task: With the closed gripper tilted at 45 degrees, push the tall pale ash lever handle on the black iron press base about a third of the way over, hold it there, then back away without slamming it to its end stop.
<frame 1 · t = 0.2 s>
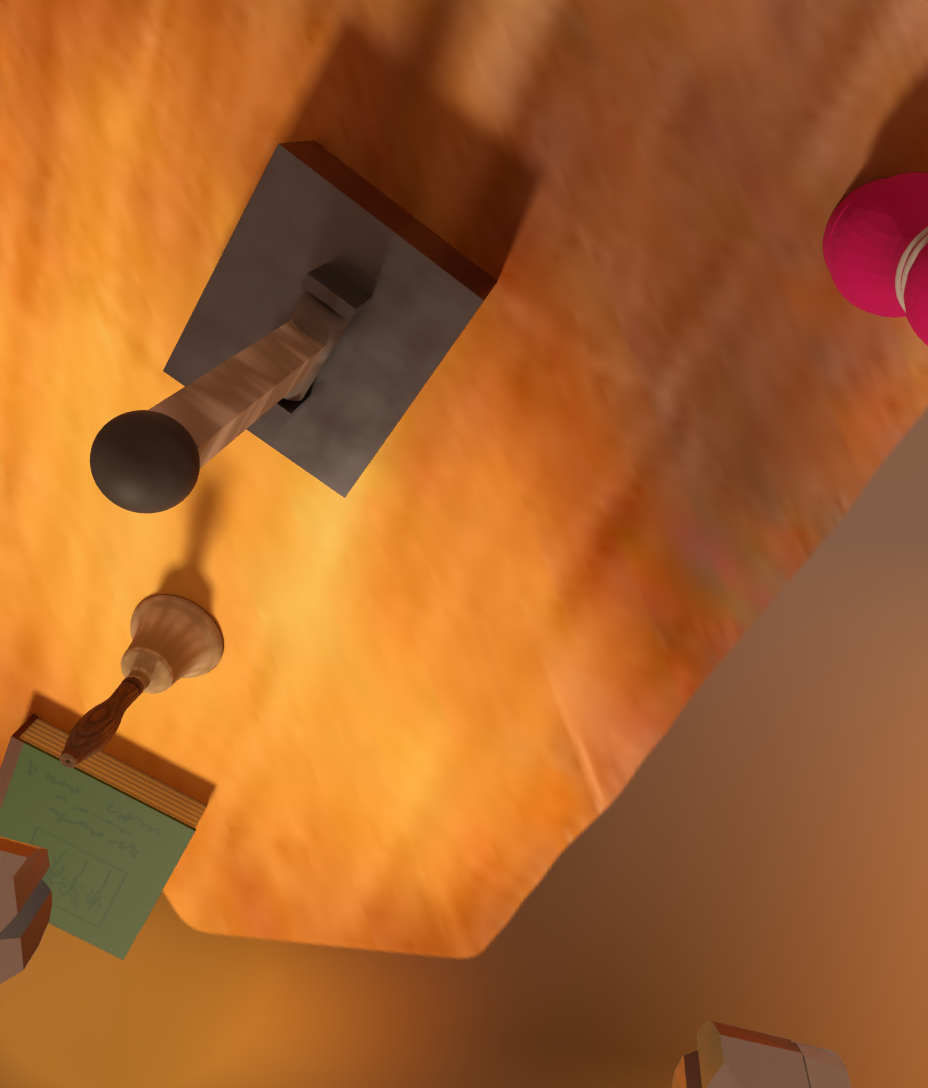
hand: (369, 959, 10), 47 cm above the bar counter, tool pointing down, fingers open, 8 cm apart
pepper mill: (878, 235, 48), on the bar counter
hardcover book: (93, 829, 85), on the bar counter
lever: (239, 393, 40), point 17 cm above the bar counter, hinge at 0.0°
hand bell: (178, 634, 70), on the bar counter
press base: (343, 316, 55), on the bar counter
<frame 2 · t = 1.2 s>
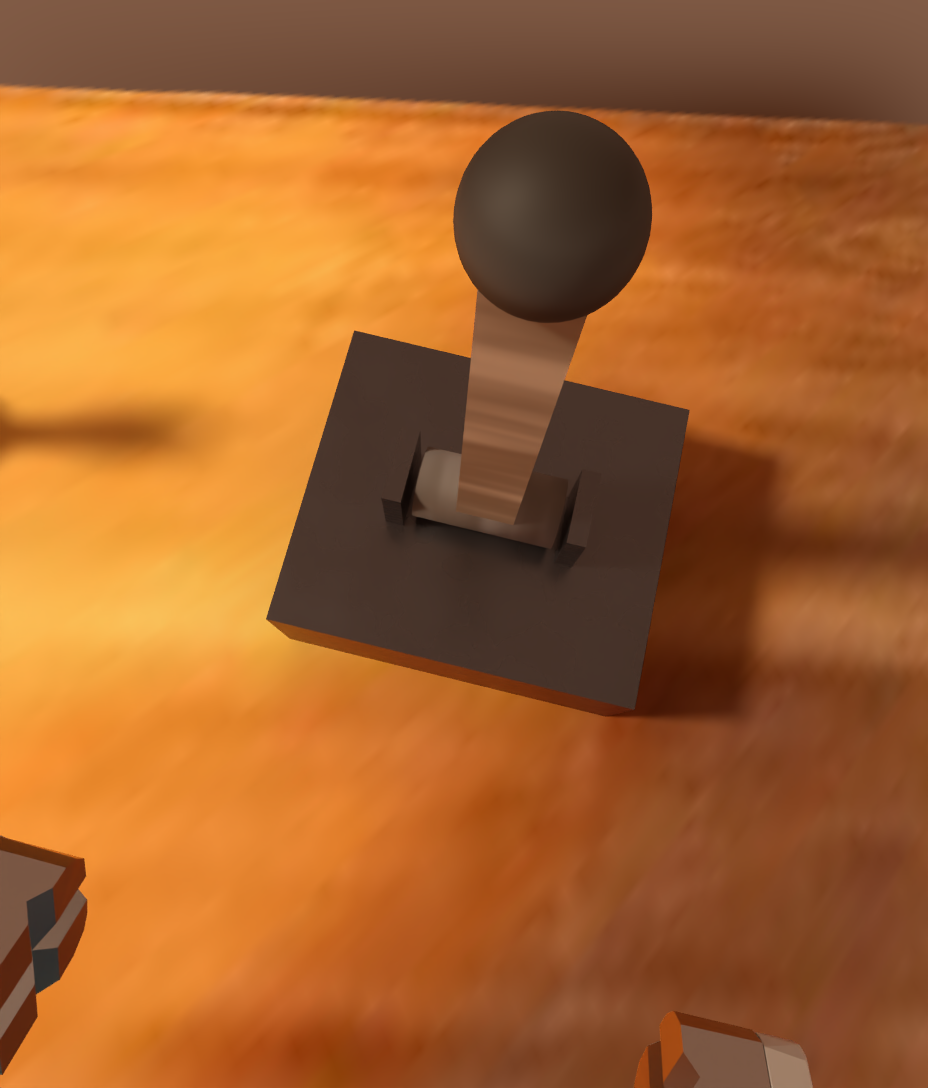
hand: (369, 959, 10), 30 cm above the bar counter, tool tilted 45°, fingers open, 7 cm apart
lever: (510, 404, 25), point 17 cm above the bar counter, hinge at 0.0°
press base: (479, 543, 42), on the bar counter
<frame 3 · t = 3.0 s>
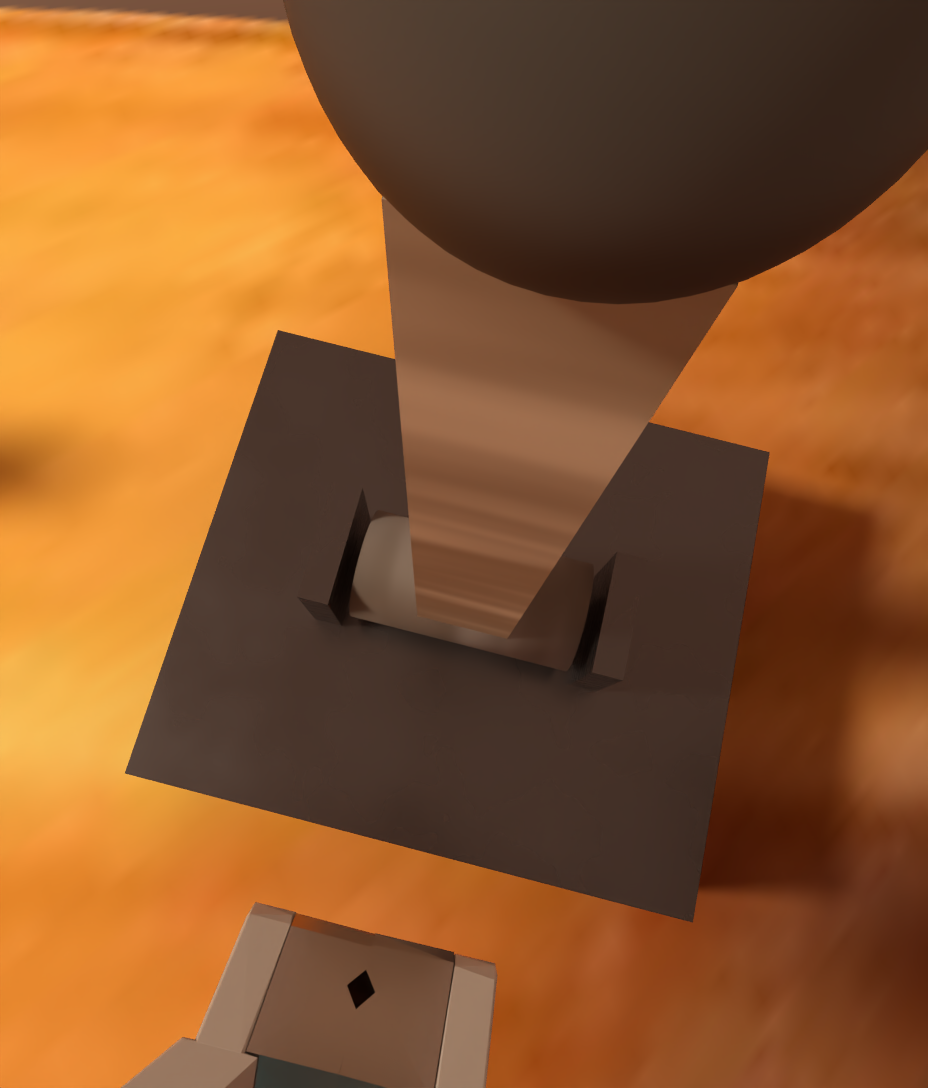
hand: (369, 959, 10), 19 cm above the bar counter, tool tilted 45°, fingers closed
lever: (500, 473, 13), point 17 cm above the bar counter, hinge at 0.0°
press base: (460, 632, 30), on the bar counter
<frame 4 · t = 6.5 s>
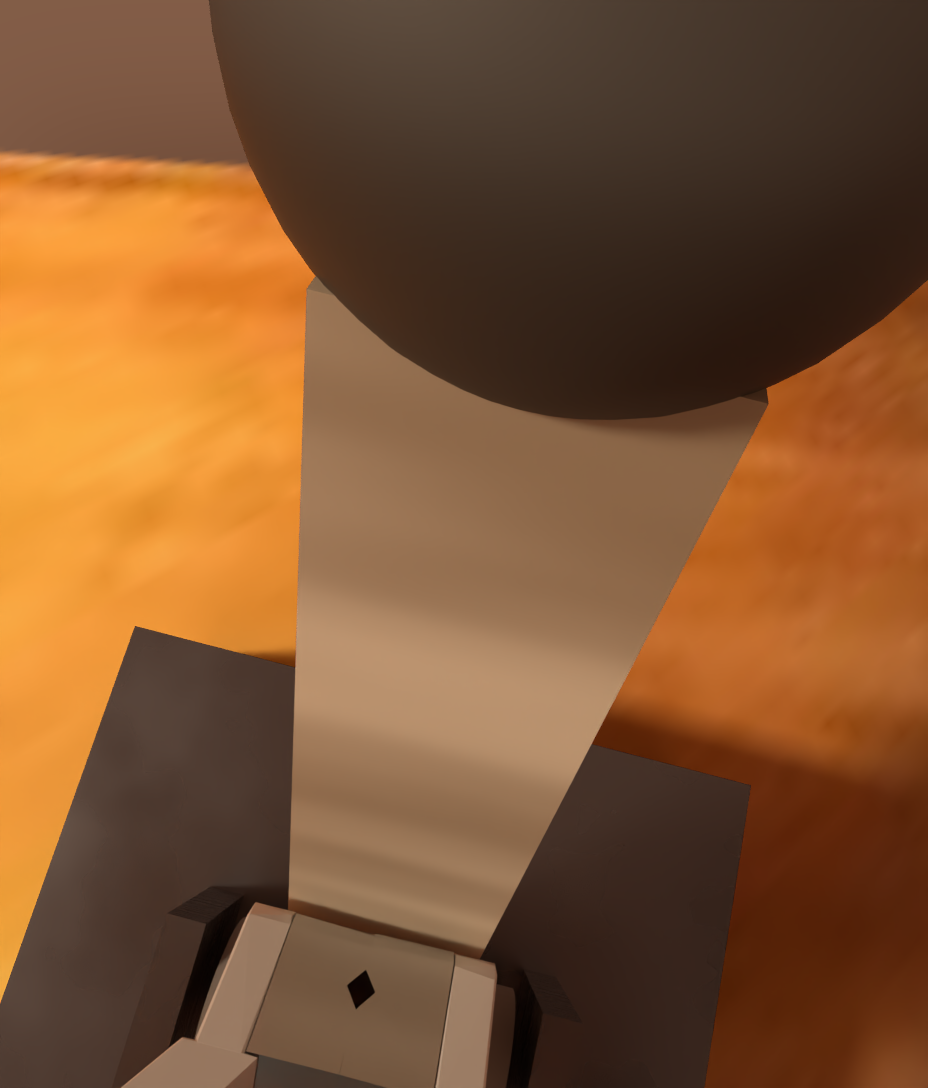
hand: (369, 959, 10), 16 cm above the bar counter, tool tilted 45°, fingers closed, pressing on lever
lever: (411, 825, 10), point 16 cm above the bar counter, hinge at 30.9°, touching gripper
press base: (379, 945, 25), on the bar counter
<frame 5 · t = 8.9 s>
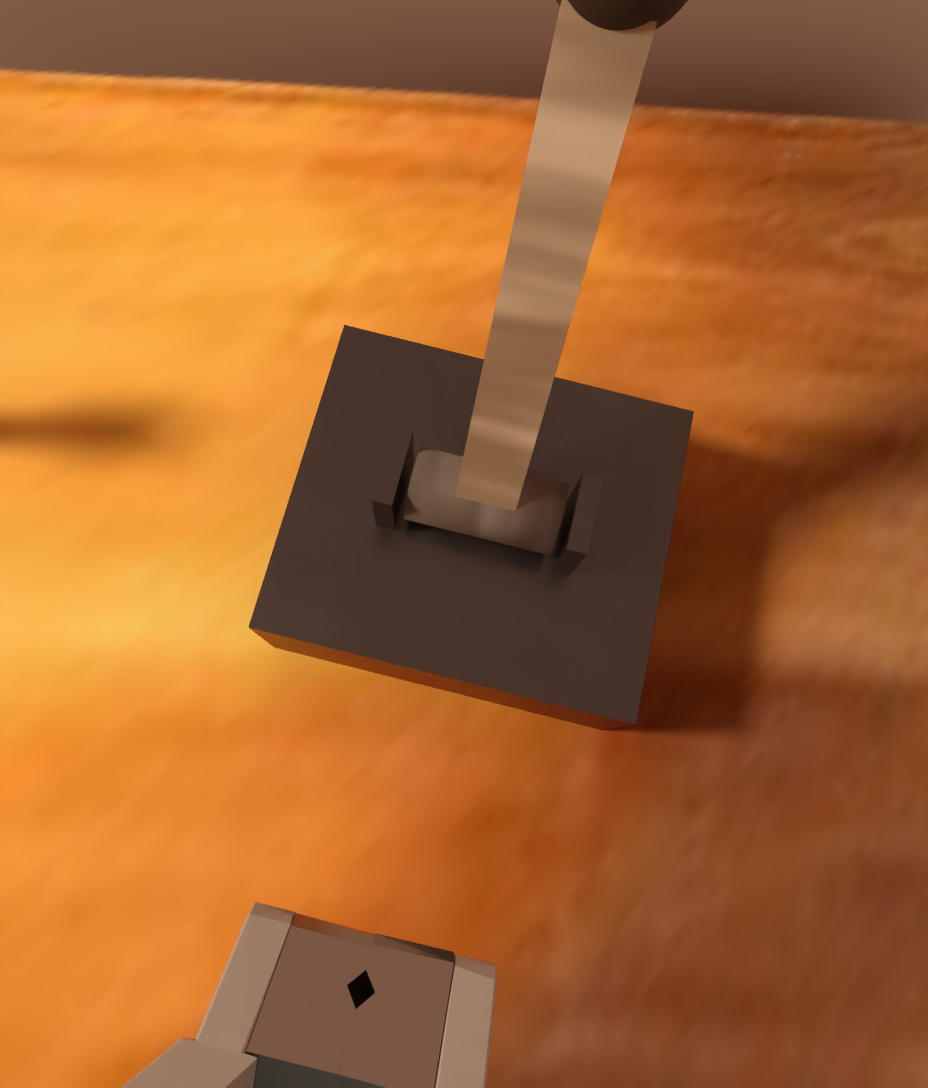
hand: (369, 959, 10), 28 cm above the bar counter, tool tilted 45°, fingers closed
lever: (540, 282, 26), point 16 cm above the bar counter, hinge at 31.1°
press base: (473, 549, 40), on the bar counter
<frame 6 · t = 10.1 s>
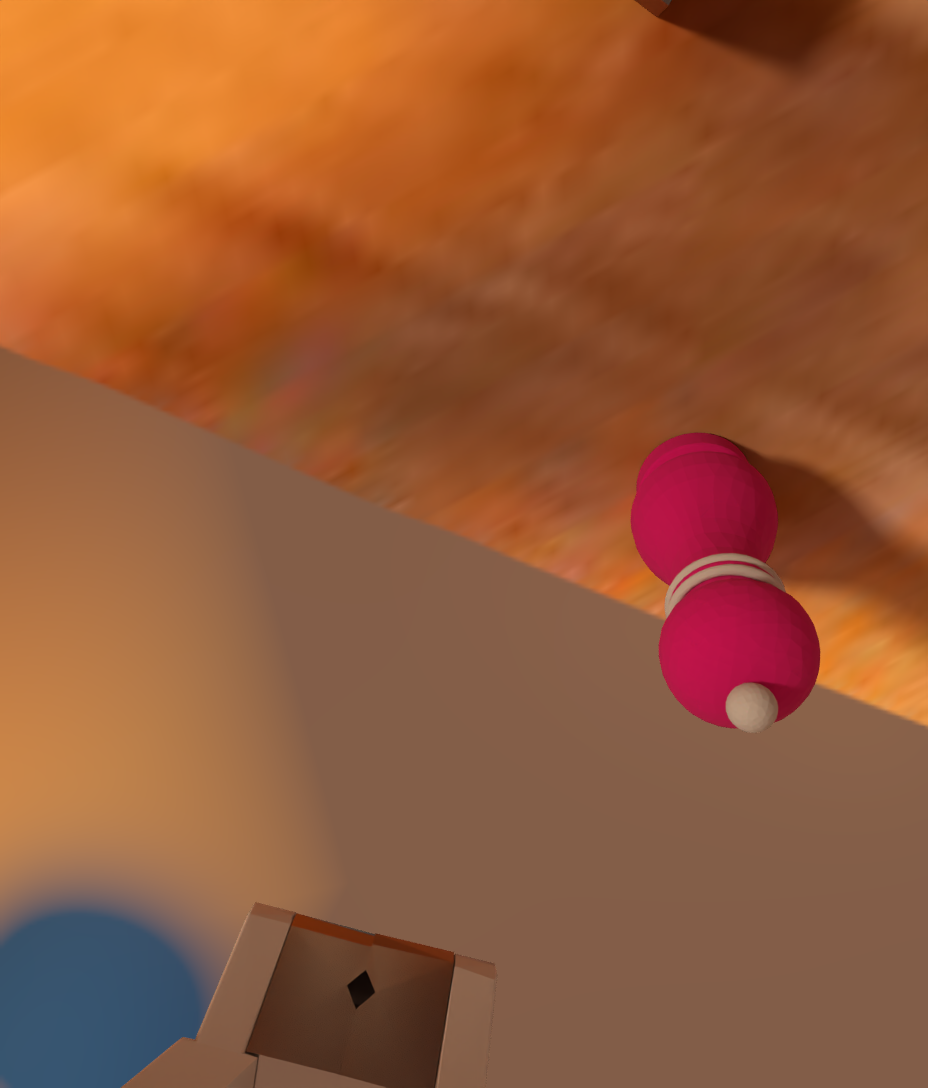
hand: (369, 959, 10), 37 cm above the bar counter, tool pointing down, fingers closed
pepper mill: (692, 482, 46), on the bar counter
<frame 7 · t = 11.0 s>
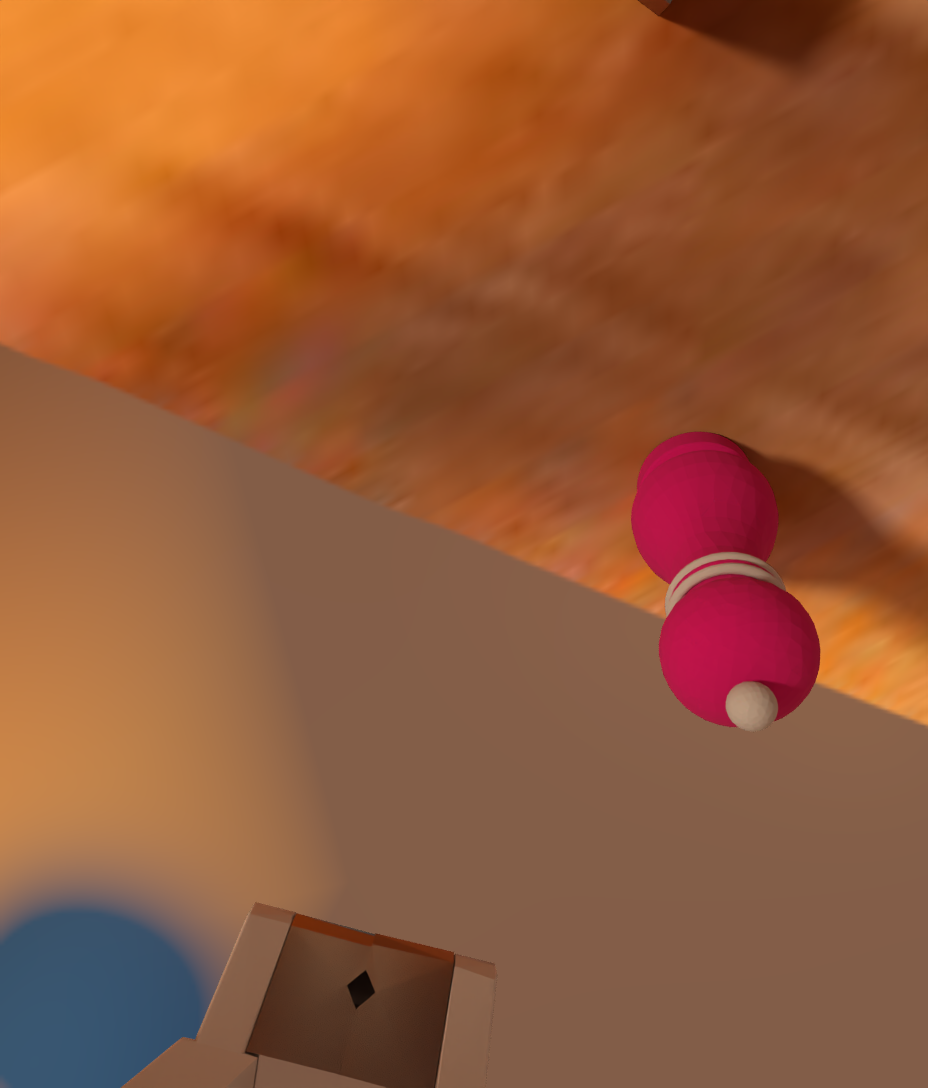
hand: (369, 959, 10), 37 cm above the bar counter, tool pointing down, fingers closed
pepper mill: (693, 481, 46), on the bar counter
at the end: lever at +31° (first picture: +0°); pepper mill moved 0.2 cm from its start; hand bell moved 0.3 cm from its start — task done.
